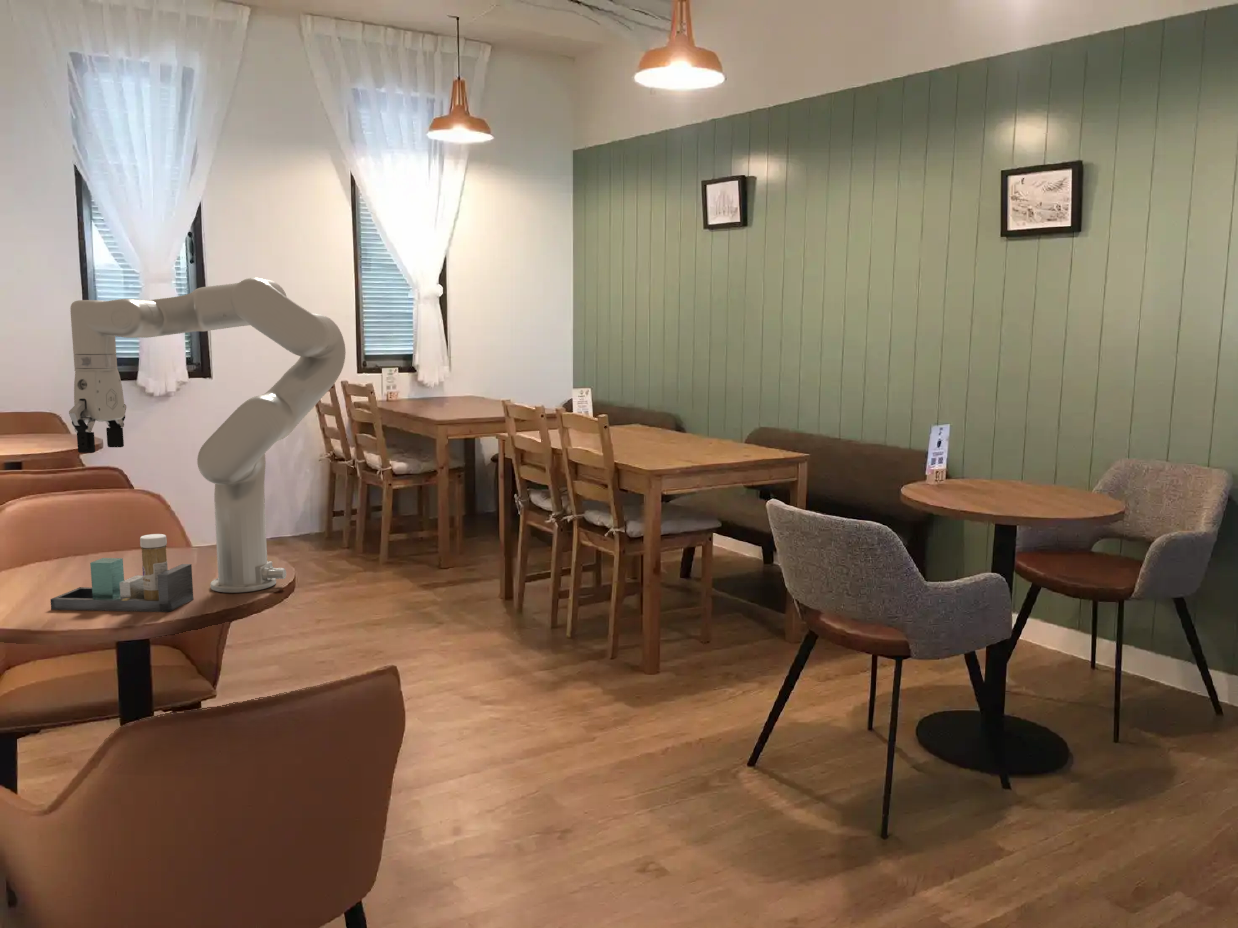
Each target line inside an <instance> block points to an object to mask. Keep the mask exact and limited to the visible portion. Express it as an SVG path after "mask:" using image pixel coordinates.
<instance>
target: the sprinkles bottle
mask: <svg viewBox="0 0 1238 928" xmlns="http://www.w3.org/2000/svg"><path fill="white" fill-rule="evenodd" d="M167 541H168V540H167V535H166V534H162V533H151V534H144V535H141V536H140V538H139V546H140V548H141V557H142V576H143V588H144V600H159V590H158V574H161V573H163V572H165V571H168V570H169V569H168V559H167V545H168V544H167V543H168V542H167Z"/></svg>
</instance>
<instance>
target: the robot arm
mask: <svg viewBox="0 0 1238 928" xmlns="http://www.w3.org/2000/svg"><path fill="white" fill-rule="evenodd" d="M69 309H70V310H69V311H70V323H71V324H70V325H71V326H70V327H71V338H72V351H73V353H72V354H73V366H74V367H73V368H74V379H73V380H74V384H73V400H74V402H73V406H72V408H71V409H70V410H69V411H68V414H69V418H70V420H71V425H72V426H73V427H74V432H75V433H76V441H77V443H76V444H77V452H78V454H93V453H95V452H96V443H95V432H94V431H93V428H94V425H95V423H96V421H97V422H98V423H99V422H100V423H101V422H102V423H103V422H105V423H106V425H107V426H108V427H106V443H107V447H108V448H124V446H125V445H124V444H125V441H124V428H125V419H126V411H127V405H126V404H125V398H124V392H123V391H124V390H123V385H122V380H121V375H120V373H119V369H118V361H117V357H118V356H117V344H116V343H117V341H116V337H119V338H120V337H121V338H127V339H129V338H130V339H134V338H135V339H136V338H137V339H138V338H143V339H144V338H145V339H146V338H157V337H162V336H163V337H164V336H171V335H172V336H173V335H177V334H179V335H180V334H187V333H193V332H209V331H215V330H216V331H217V330H224V329H231V328H237V327H238V328H239V327H246V326H251V327H252V328H254V329H255V330H257V331H258V332H260V333H261V334H262V335H264V336H266V337H267V338H269V339H270V340H271V341H273V342H274V343H276V344H277V345H279V346H281V347H282V348H284V349H285V350H286V351H288V352H290V353H292V354H293V355H295V356H298V357H299V359H297V361H296V362H295V363H294V365H292V366H291V367H289V369H288V370H287V371H285V373H284V374H283V375H282V376H281V377H280V379H278V381H276V382H275V383H274V385H272V386H271V387H270V389H269V390H267V391H266V392H265V393H263V394H260V395H256V396H254V397H250V398H249V399H248V400H246V401H244V402H243V403H242V404H240V405H239V406H238V407H237V408H236V409H235V410H234V411H233V412H232V414H231V415H229V416H228V418H227V419H225V421H223V423H222V424H221V425H220V426H219V427H218V428H217V429H216V430H215V431H214V432H213V433H212V434H211V435H210V436H209V437H208V438H207V439H206V441H204V443H203V444H202V445H201V447H200V449H199V451H198V454H197V457H196V458H197V459H196V460H197V461H196V464H197V469H198V470H199V473H200V475H201V476H202V477H203V478H204V479H205V480H206V481H208V482H209V483H212V484H214V496H213V497H214V503H213V504H214V521H215V524H214V525H215V541H216V558H217V559H216V560H217V578H215V579H213V580H212V581H211V582H210V584H209V586H210V589H211V590H212V591H215V592H218V593H228V594H231V593H233V594H235V593H248V592H256V591H260V590H261V591H262V590H265V589H269V588H271V587H273V586H275V585H276V583H277V580H281V579H282V580H285V579H286V578H287V570H286V568H285V567H278V568H277V567H274V566H273V561H272V560H271V561H270V560H269V561H268V551H267V549H268V548H267V547H268V546H267V527H266V503H265V476H266V475H265V474H266V453H267V452H268V451H269V449H270V448H272V446H274V445H275V443H277V442H279V441H281V440H284V439H285V438H286V437H289V435H291V434H292V432H294V430H295V428H296V427H297V426H298V425H299V424H300V422H302V420H304V419H305V417H306V416H307V415H308V414H309V413H310V412H311V410H313V409H314V407H315V406H316V405H317V404H318V403H319V401H320V400H322V398H323V397H324V396H325V395H326V394H327V393H328V392H329V391H330V389H332V387H333V386H334V385H335V383H336V381H337V380H338V379H339V377H340V375H341V373H342V371H343V369H344V366H345V365H344V364H345V362H346V344H345V340H344V337H343V333H342V332H341V330H340V327H339V326H338V325H337V324H336V322H335V321H334V320H332V319H331V318H330V317H328V316H327V315H324V314H320V313H312V312H310V311H308V310H306V309H305V308H303V307H302V306H301V305H299V304H297V303H296V302H294V300H292V299H290V298H289V297H288V296H287V294H286V292H285V290H284V288H283V287H282V286H281V285H280V284H278V283H277V282H276V281H274V280H271V279H264V278H261V277H260V278H259V277H249V278H246V279H243V280H240V281H239V282H236V283H229V284H227V283H226V284H219V285H209V286H201V287H198V288H196V289H194V290H193V291H192V292H190V293H187V294H184V295H179V296H172V297H165V298H156V299H145V300H144V299H139V298H137V299H136V298H119V299H113V300H102V299H101V300H100V299H97V300H96V299H82V300H80V299H79V300H74V301H72V303H71V304H70V308H69ZM92 431H93V432H92Z"/></svg>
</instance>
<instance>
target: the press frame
mask: <svg viewBox="0 0 1238 928" xmlns="http://www.w3.org/2000/svg"><path fill="white" fill-rule="evenodd" d="M192 567H193V566H192V563H182V564H179V565H177V566H174V567H173V568H169V569H168V571H165V572H163V573H161V574H158V590H159V600H143V599H130V598H124V599H93V595H92V586H91V587H90V586H89V587H87V586H85V587H80V586H79V587H77V588H75V589H72V590H69V591H67V592H65V593H62V594H59V595H58V596H55V597H51V598H50V601H49V602H50V609H51V610H52V611H53V610H55V611H57V610H59V611H61V610H62V611H102V612H103V611H104V610H105V611H107V612H108V611H109V612H110V611H111V612H148V613H149V612H152V613H154V612H155V613H170V612H172V611H174V610H175V609H178V608H179V607H182V606H184V605H186V604H187V603H189V602H192V601H194V587H193V586H194V585H193V584H194V583H193V568H192ZM183 604H184V605H183ZM105 611H104V612H105Z"/></svg>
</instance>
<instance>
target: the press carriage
mask: <svg viewBox="0 0 1238 928" xmlns="http://www.w3.org/2000/svg"><path fill="white" fill-rule="evenodd" d="M89 564H90V577H91V578H90V579H91V587H92V595H93V599H124V598H130V599H143V600H144V588H143V574H142V575H138V574H137V575H134V576H131V577H130V578H127V579H125V573H124V560H123V557H121V558H120V557H119V558H117V557H102V558H99V559H96V560H94V561H91V562H89Z"/></svg>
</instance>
